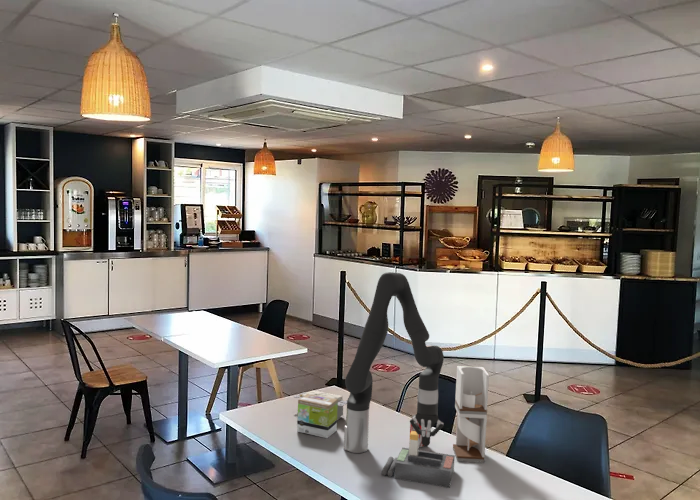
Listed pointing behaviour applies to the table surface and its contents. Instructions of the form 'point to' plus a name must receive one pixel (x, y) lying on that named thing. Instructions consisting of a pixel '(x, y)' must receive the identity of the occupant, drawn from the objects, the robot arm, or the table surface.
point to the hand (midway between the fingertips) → (425, 445)
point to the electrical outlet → (340, 399)
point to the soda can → (419, 434)
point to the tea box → (317, 415)
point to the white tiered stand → (471, 413)
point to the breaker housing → (425, 467)
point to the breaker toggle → (414, 443)
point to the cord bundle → (389, 467)
